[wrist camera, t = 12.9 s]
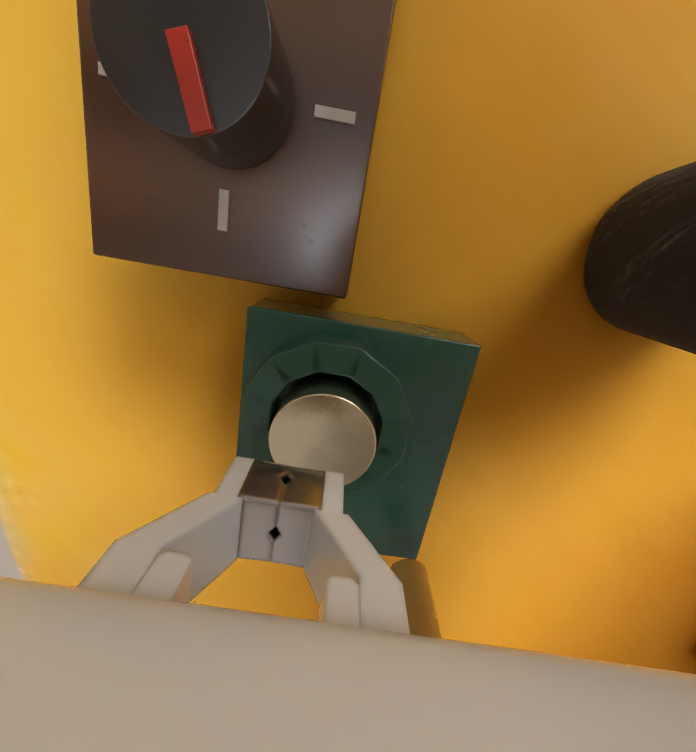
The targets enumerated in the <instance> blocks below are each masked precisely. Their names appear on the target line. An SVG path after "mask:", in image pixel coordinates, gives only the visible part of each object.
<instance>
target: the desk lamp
mask: <svg viewBox="0 0 696 752" xmlns="http://www.w3.org/2000/svg"><path fill="white" fill-rule="evenodd" d="M390 569H391V570H392V571H393V572H394V574H395V575H396V576H397V578H398V579H399V580H400V581H401V583H402V585H403V591H404V598H405V604H406V611H407V617H408V624H409V630H410V634H413V635H420V636H427V637H434V638H442V637H441V633H440V628H439V624H438V620H437V615H436V611H435V607H434V602H433V598H432V594H431V589H430V585H429V580H428V576H427V572H426V569H425V567H424V566H423V565H422V564H421V563H420V562H419V561H416V560H413V559H403V560H400V561H397V562H396V563H394V564H393V565H392V566H391V568H390Z"/></svg>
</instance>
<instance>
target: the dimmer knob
mask: <svg viewBox="0 0 696 752" xmlns="http://www.w3.org/2000/svg"><path fill="white" fill-rule="evenodd" d="M89 13H90V24H91V31H92V37H93V40H94V44H95V48H96V51H97V54H98V57H99V60H100V62H101V65H102V67H103V69H104V71H105V73H106V75H107V77H108V79H109V81H110V83H111V84H112V86H113V87H114V89H115V91H116V92H117V93H118V95H119V96H120V97H121V99H122V100H123V101H124V102H125V104H126V105H127V106H128V107H129V108H130V109H131V110H132V111H133V112H134V113H135V114H136V115H138V116H139V117H140V118H141V119H142V120H144V121H145V122H147V123H148V124H150V125H151V126H153V127H154V128H156V129H157V130H159V131H160V132H162V133H163V134H165V135H167V136H168V137H170V138H171V139H173V140H174V141H176V142H178V143H179V144H181V145H182V146H184V147H185V148H187V149H188V150H190V151H192V152H193V153H195V154H196V155H198V156H199V157H201V158H203V159H204V160H206V161H208V162H210V163H212V164H214V165H217V166H220V167H224V168H229V169H241V168H247V167H251V166H254V165H256V164H259V163H261V162H262V161H264V160H266V159H267V158H268V157H269V156H271V155H272V154H273V153H274V152H275V151H276V150H277V148H278V147H279V146H280V145H281V143H282V142H283V140H284V138H285V136H286V134H287V132H288V130H289V127H290V124H291V121H292V116H293V111H294V84H293V78H292V74H291V70H290V67H289V64H288V61H287V58H286V55H285V52H284V49H283V47H282V44H281V41H280V38H279V35H278V32H277V29H276V26H275V23H274V20H273V17H272V14H271V11H270V8H269V6H268V3H267V0H89Z"/></svg>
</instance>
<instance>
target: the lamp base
mask: <svg viewBox="0 0 696 752" xmlns="http://www.w3.org/2000/svg"><path fill="white" fill-rule="evenodd" d="M480 348H481V346H480V345H478V344H477V343H476V342H474V341H473V340H472V339H470V338H469V337H467V336H466V335H465V334H463V333H461V332H455V331H449V330H443V329H438V328H432V327H426V326H420V325H415V324H409V323H403V322H397V321H391V320H386V319H380V318H374V317H368V316H363V315H357V314H351V313H345V312H339V311H334V310H328V309H322V308H316V307H311V306H305V305H299V304H293V303H287V302H282V301H276V300H270V299H262V300H260V301H257V302H255V303H253V304H251V305H249V306H248V307H247V320H246V333H245V347H244V360H243V374H242V387H241V401H240V414H239V428H238V441H237V455H236V457H237V456H239V457H246V458H252V459H257V460H263V461H268V462H273V463H275V462H274V460H273V458H272V455H271V452H270V449H269V442H268V440H269V430H270V427H271V424H272V421H273V419H274V417H275V415H276V413H277V411H278V409H279V407H280V405H281V403H282V401H283V399H284V398H285V397H286V395H287V394H288V393H289V392H290V391H291V390H292V389H293V388H295V387H296V386H298V385H299V384H301V383H303V382H306V381H308V380H312V379H317V378H332V379H337V380H341V381H343V382H346V383H348V384H350V385H352V386H353V387H355V388H356V389H358V390H359V391H360V392H361V393H362V394H363V395H364V397H365V398H366V399H367V401H368V402H369V404H370V406H371V409H372V412H373V416H374V424H375V432H376V452H375V455H374V458H373V460H372V462H371V464H370V466H369V467H368V469H367V470H366V471H365V472H364V473H363V474H362V475H361V476H360V477H359V478H357V479H356V480H355V481H353V482H351V483H349V484H347V485H344V498H343V514H347V515H349V516H350V517H351V519H352V520H353V521H354V523H355V524H356V525H357V526H358V528H359V529H360V530H361V531H362V533H363V534H364V535H365V537H366V538H367V539H368V540H369V542H370V543H371V544H372V546H373V547H374V548H375V549H376V551H377V552H378V553H379V554H381V555H388V556H395V557H402V558H409V559H416V558H417V555H418V552H419V548H420V545H421V542H422V539H423V535H424V532H425V529H426V525H427V522H428V519H429V516H430V512H431V509H432V506H433V502H434V499H435V496H436V493H437V489H438V486H439V483H440V479H441V476H442V473H443V470H444V466H445V463H446V460H447V456H448V453H449V450H450V447H451V443H452V440H453V437H454V434H455V430H456V427H457V424H458V420H459V417H460V414H461V411H462V407H463V404H464V401H465V397H466V394H467V391H468V388H469V384H470V381H471V378H472V374H473V371H474V368H475V365H476V361H477V358H478V355H479V351H480Z"/></svg>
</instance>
